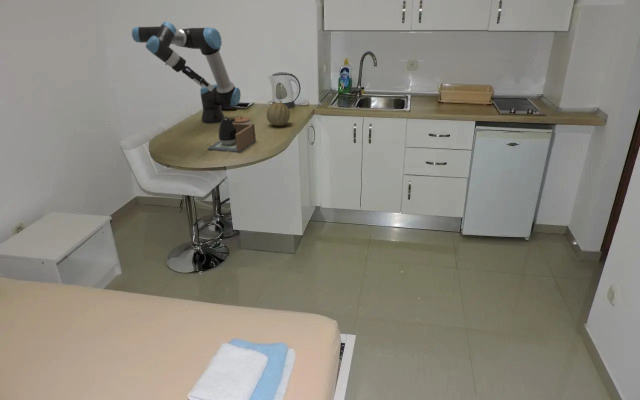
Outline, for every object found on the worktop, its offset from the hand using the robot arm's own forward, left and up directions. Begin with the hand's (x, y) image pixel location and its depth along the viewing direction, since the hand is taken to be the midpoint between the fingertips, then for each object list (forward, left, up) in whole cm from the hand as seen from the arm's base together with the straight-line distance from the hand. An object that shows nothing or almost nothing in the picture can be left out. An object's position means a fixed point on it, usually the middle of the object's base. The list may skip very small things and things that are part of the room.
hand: (208, 87), depth 241 cm
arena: (+10, +1, -33) cm, 34 cm away
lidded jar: (+3, +28, -33) cm, 43 cm away
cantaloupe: (+21, +44, -33) cm, 59 cm away
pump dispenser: (+8, 0, -32) cm, 33 cm away
